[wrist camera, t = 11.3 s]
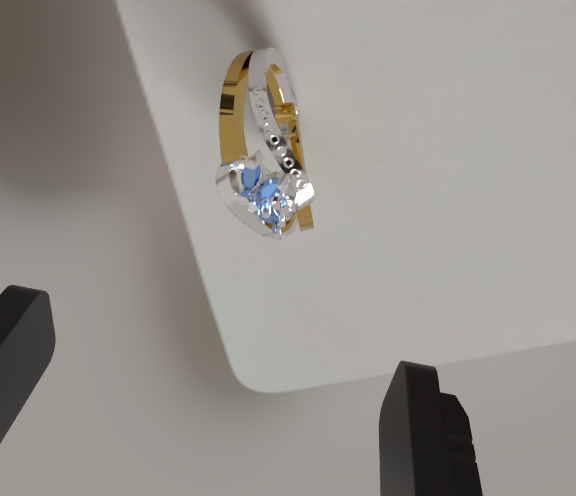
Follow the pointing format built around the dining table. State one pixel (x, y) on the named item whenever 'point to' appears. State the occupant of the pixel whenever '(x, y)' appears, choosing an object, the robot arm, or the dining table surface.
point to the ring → (282, 143)
